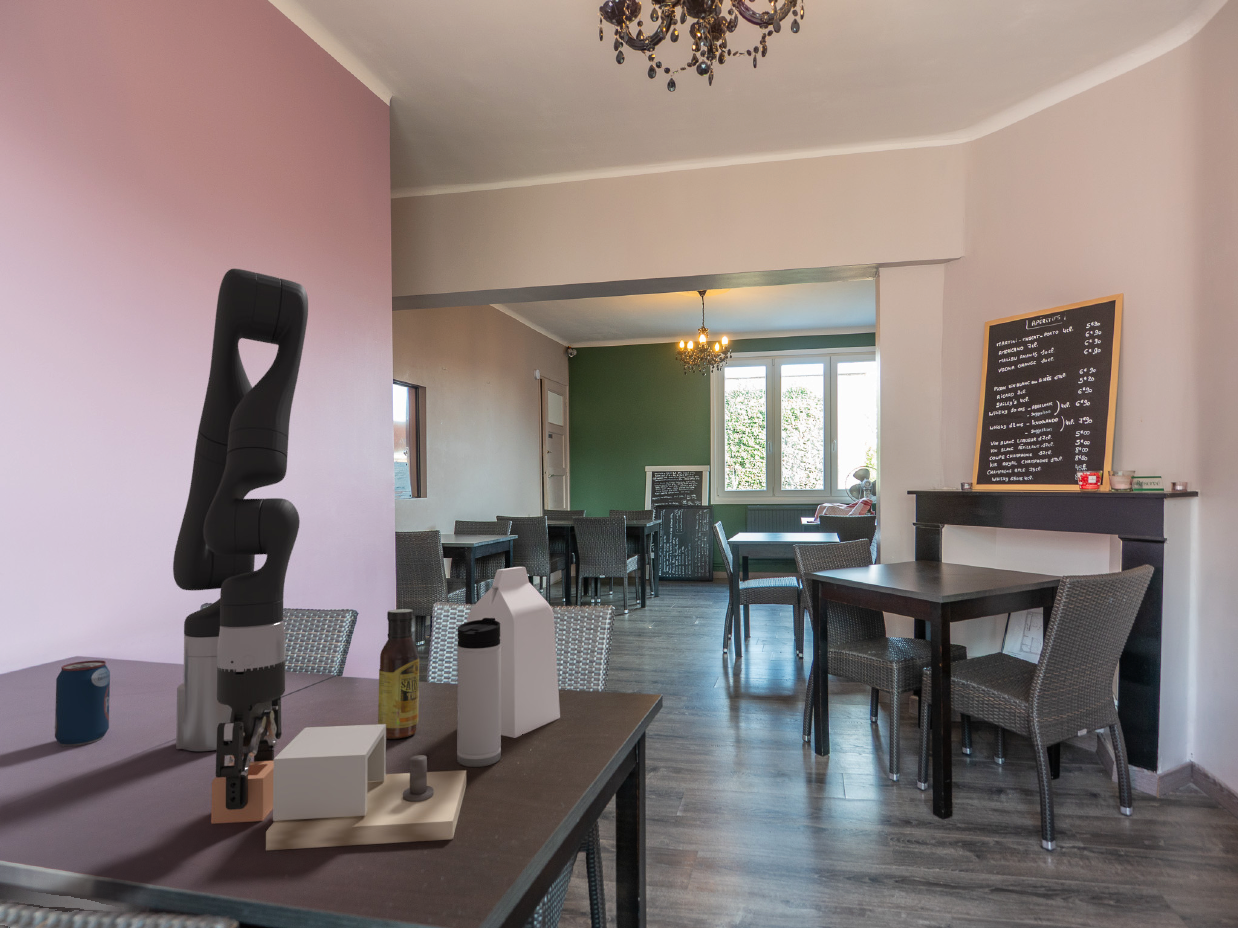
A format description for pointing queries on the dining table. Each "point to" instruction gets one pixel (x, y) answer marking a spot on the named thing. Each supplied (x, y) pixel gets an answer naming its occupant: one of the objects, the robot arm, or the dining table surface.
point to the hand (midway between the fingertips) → (250, 793)
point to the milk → (522, 651)
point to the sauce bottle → (399, 677)
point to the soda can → (82, 703)
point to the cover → (328, 771)
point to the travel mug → (479, 693)
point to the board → (385, 813)
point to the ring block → (257, 796)
